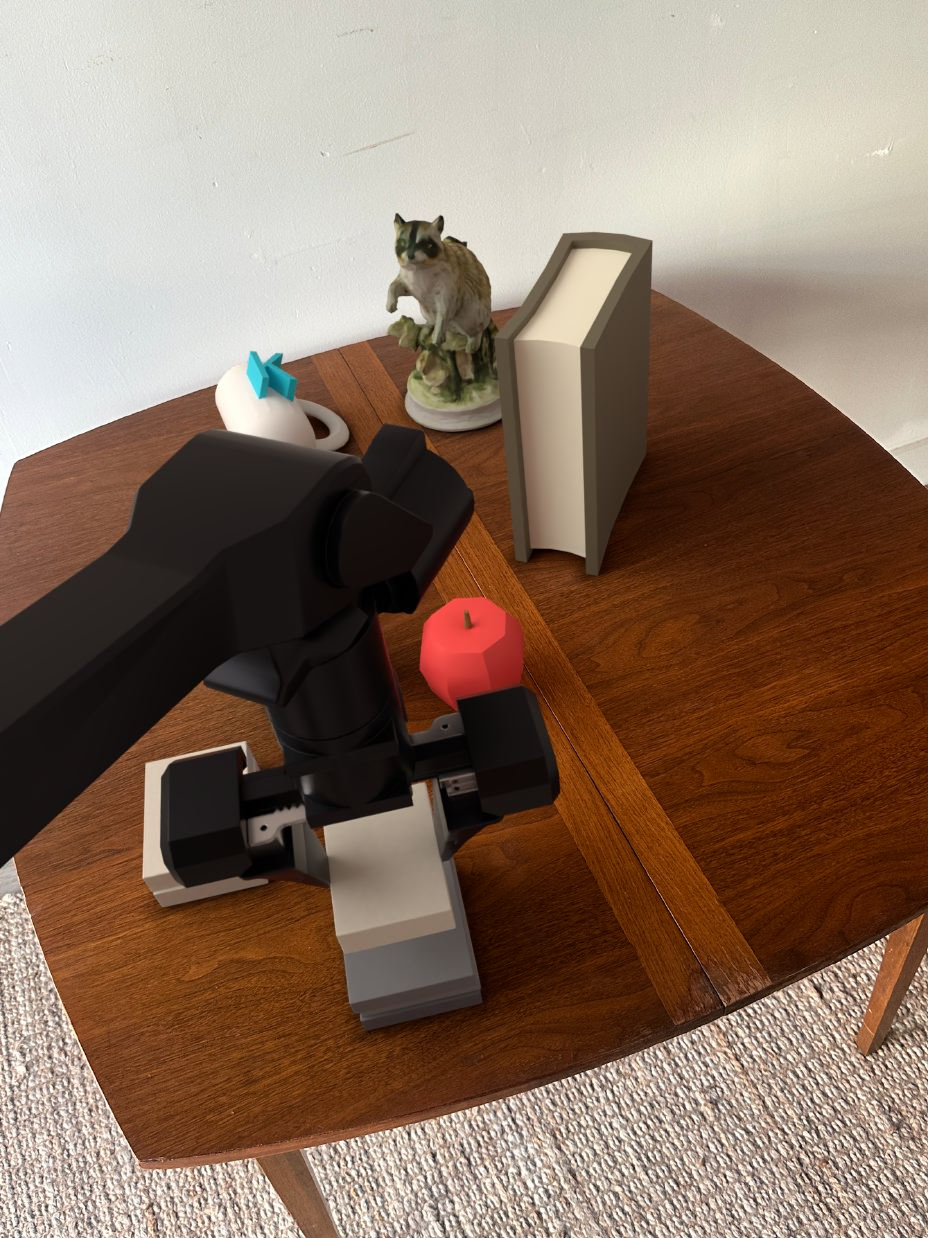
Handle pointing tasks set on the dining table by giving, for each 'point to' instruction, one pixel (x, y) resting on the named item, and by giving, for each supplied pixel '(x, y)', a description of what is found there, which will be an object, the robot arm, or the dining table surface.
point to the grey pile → (416, 972)
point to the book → (576, 393)
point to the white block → (388, 877)
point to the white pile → (153, 864)
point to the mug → (273, 406)
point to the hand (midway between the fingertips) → (387, 866)
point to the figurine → (445, 329)
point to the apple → (471, 649)
